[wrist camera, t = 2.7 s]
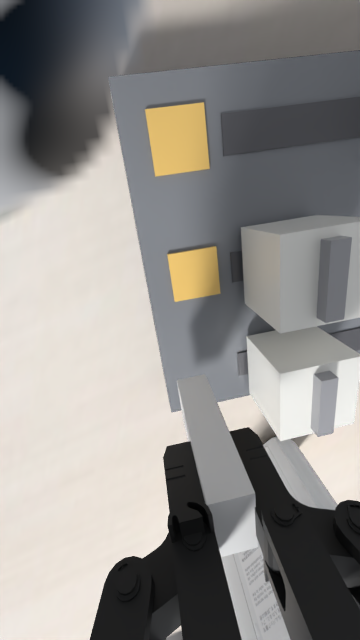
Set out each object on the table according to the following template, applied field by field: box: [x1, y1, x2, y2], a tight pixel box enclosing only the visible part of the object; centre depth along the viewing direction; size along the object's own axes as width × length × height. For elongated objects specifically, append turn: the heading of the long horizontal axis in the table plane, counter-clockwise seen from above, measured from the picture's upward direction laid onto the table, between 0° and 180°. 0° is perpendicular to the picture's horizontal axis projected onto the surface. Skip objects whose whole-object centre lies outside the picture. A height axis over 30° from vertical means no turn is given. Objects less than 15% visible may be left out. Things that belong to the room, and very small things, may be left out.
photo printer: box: [221, 437, 337, 640], centre depth 20 cm, size 10×4×12 cm, turn 143°
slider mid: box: [241, 215, 360, 334], centre depth 13 cm, size 4×4×5 cm
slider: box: [246, 326, 360, 441], centre depth 15 cm, size 4×4×5 cm
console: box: [108, 50, 360, 412], centre depth 17 cm, size 22×17×3 cm
